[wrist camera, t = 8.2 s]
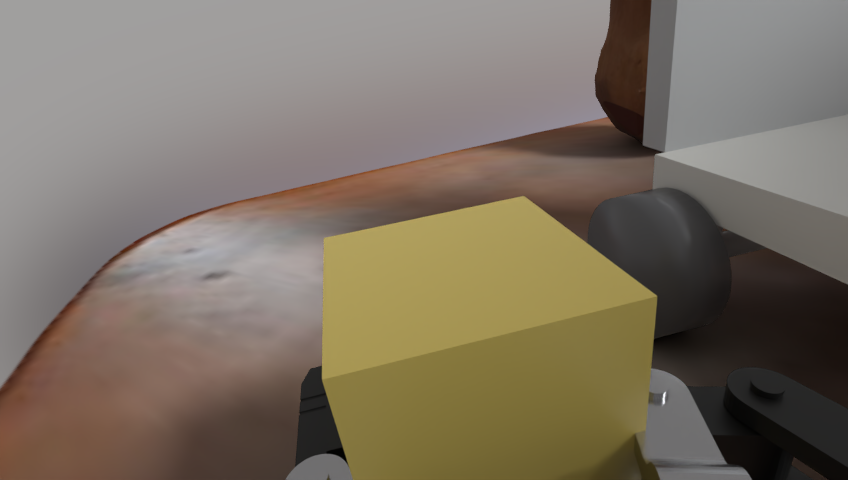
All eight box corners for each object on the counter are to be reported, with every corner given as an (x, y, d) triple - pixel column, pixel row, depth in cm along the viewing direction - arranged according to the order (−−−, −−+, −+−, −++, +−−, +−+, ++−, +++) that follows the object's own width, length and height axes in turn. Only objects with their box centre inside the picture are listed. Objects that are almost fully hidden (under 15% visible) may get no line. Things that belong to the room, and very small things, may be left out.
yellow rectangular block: (396, 511, 15) (323, 238, 11) (538, 469, 15) (523, 195, 11) (426, 715, 10) (322, 379, 6) (627, 645, 11) (657, 295, 7)
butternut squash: (771, 135, 44) (831, -196, 34) (683, 169, 39) (722, -207, 29) (647, 122, 56) (663, -127, 45) (566, 148, 50) (563, -127, 40)
